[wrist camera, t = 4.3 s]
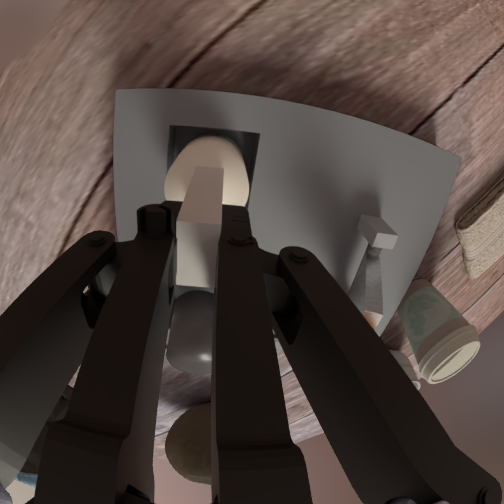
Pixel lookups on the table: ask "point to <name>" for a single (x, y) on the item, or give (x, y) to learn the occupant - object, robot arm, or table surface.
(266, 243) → the panel
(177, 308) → the dark gray button
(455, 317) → the coffee cup
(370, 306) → the lever
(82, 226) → the table surface
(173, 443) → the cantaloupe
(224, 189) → the cream button
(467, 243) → the washcloth
